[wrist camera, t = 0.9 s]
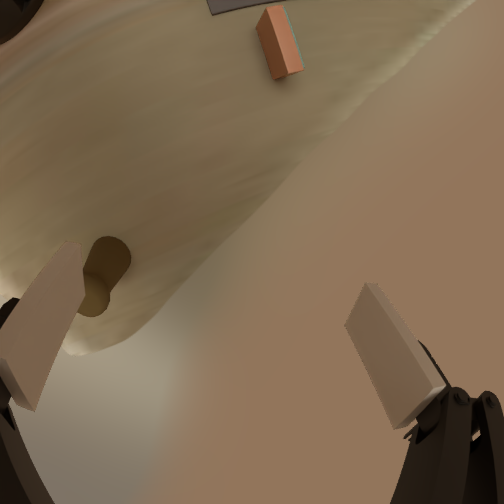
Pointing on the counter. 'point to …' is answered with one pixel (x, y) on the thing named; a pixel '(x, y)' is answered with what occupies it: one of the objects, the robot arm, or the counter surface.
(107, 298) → the cork
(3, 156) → the counter surface
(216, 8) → the mat
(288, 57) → the tile
